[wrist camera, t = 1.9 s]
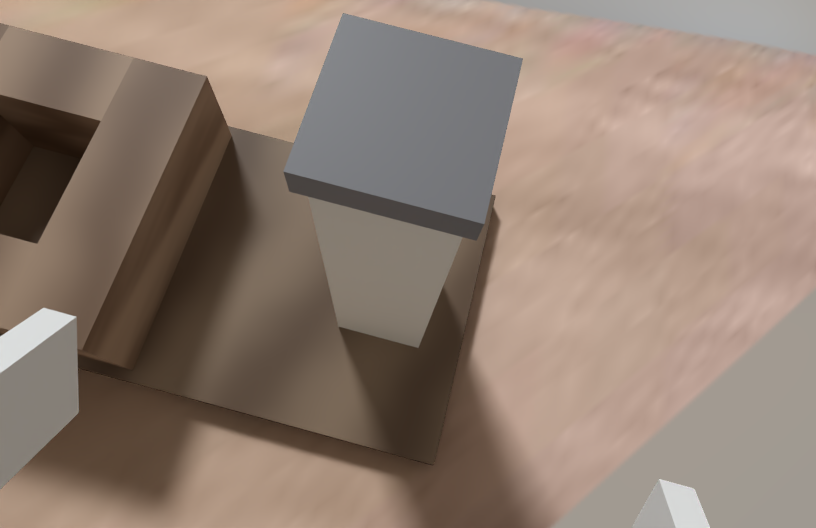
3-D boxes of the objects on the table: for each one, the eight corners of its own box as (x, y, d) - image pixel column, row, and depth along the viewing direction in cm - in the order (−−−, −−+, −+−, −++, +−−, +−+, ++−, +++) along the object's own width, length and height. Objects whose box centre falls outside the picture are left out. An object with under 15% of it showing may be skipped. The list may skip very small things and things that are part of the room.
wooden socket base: (-150, 305, 28) (-283, 264, 22) (-8, 73, 33) (-88, -9, 27) (431, 464, 27) (447, 464, 21) (491, 203, 32) (518, 146, 26)
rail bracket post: (330, 330, 28) (283, 171, 13) (357, 245, 29) (342, 13, 14) (422, 355, 28) (484, 224, 13) (444, 268, 29) (522, 58, 14)
